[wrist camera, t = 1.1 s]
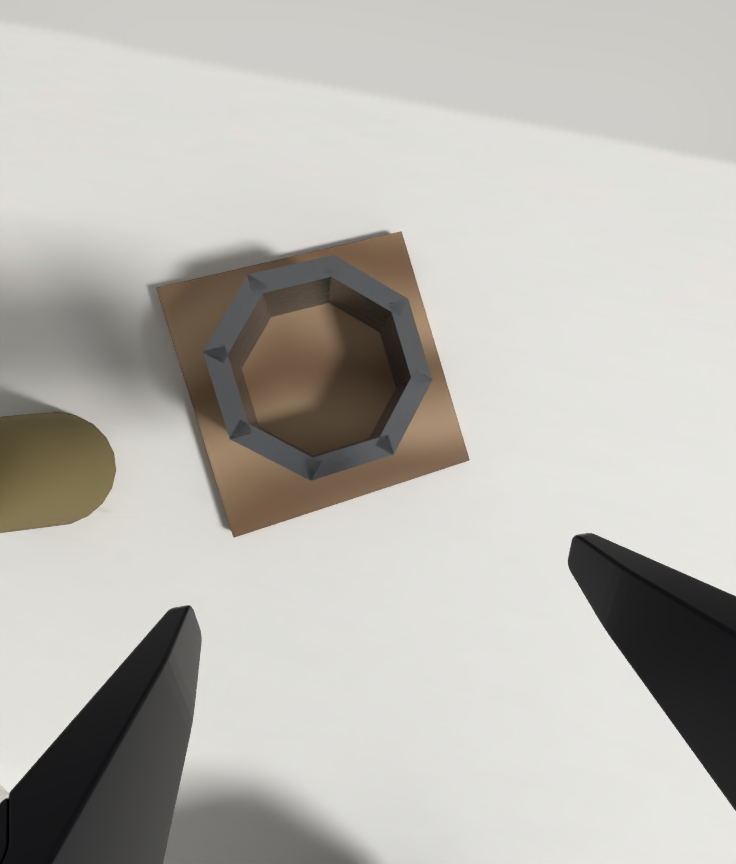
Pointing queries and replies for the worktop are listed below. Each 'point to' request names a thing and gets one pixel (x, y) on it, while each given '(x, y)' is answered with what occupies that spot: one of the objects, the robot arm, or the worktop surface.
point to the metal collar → (301, 291)
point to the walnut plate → (311, 390)
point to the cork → (51, 470)
